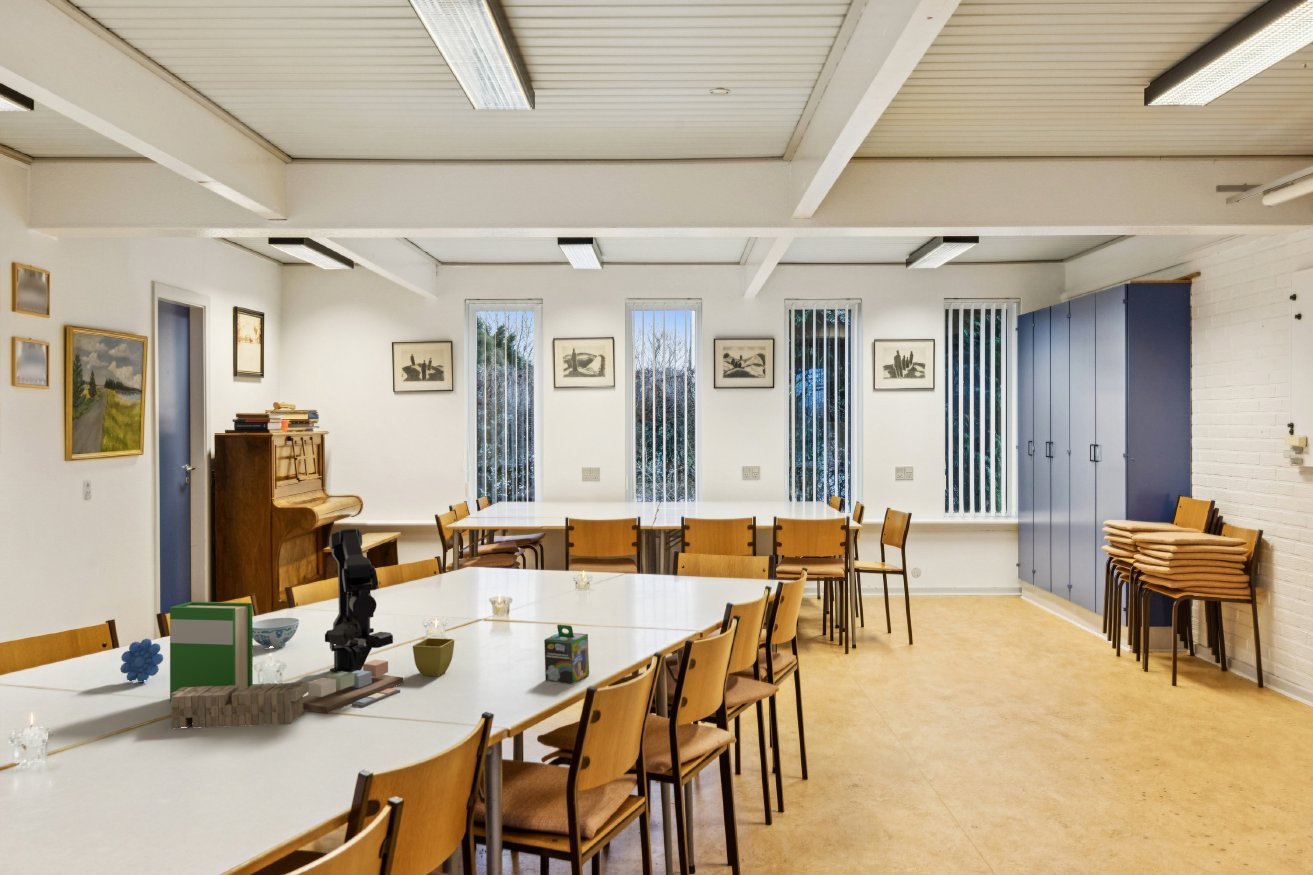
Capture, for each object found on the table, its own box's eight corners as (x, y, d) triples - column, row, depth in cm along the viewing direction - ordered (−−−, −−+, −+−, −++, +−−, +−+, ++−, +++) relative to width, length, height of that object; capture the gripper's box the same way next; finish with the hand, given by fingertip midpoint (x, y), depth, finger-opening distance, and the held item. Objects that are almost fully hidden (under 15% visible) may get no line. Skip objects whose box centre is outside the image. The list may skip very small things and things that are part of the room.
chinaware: (308, 644, 253) (308, 620, 253) (264, 654, 240) (264, 629, 240) (282, 638, 261) (282, 615, 261) (238, 648, 248) (238, 624, 248)
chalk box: (589, 675, 215) (589, 622, 215) (572, 684, 206) (572, 629, 207) (561, 671, 218) (561, 619, 219) (543, 680, 210) (543, 626, 210)
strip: (351, 705, 191) (351, 702, 191) (389, 690, 203) (389, 687, 203) (362, 707, 189) (362, 703, 189) (400, 692, 201) (400, 688, 201)
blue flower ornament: (172, 677, 217) (172, 634, 217) (156, 684, 210) (156, 640, 210) (131, 677, 217) (131, 635, 217) (114, 684, 210) (114, 641, 211)
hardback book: (252, 695, 200) (252, 602, 201) (232, 704, 193) (232, 608, 193) (191, 692, 203) (191, 601, 203) (170, 701, 195) (169, 607, 196)
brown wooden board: (291, 707, 190) (291, 700, 190) (370, 678, 214) (370, 672, 214) (327, 713, 185) (327, 707, 185) (403, 682, 209) (403, 677, 209)
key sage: (327, 687, 196) (327, 675, 196) (341, 682, 200) (341, 671, 200) (340, 689, 194) (340, 677, 194) (354, 684, 198) (354, 672, 198)
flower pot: (440, 679, 212) (440, 646, 212) (411, 677, 214) (411, 645, 214) (455, 670, 221) (455, 638, 221) (427, 668, 223) (427, 637, 223)
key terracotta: (363, 674, 207) (363, 663, 207) (375, 670, 211) (375, 659, 211) (375, 676, 205) (375, 665, 205) (388, 672, 209) (388, 661, 209)
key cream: (308, 694, 190) (308, 682, 191) (322, 689, 195) (322, 677, 195) (321, 696, 189) (321, 684, 189) (335, 691, 193) (335, 679, 193)
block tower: (165, 734, 176) (297, 724, 179) (164, 697, 176) (296, 688, 179) (183, 721, 184) (309, 712, 186) (182, 686, 184) (308, 678, 187)
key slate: (345, 685, 201) (345, 674, 201) (358, 681, 206) (358, 669, 206) (358, 687, 200) (358, 676, 200) (371, 682, 204) (371, 671, 204)
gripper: (307, 614, 199) (307, 674, 199) (362, 619, 192) (362, 682, 191) (341, 605, 209) (341, 663, 209) (394, 610, 202) (394, 670, 202)
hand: (358, 669), depth 203 cm, fingers closed
